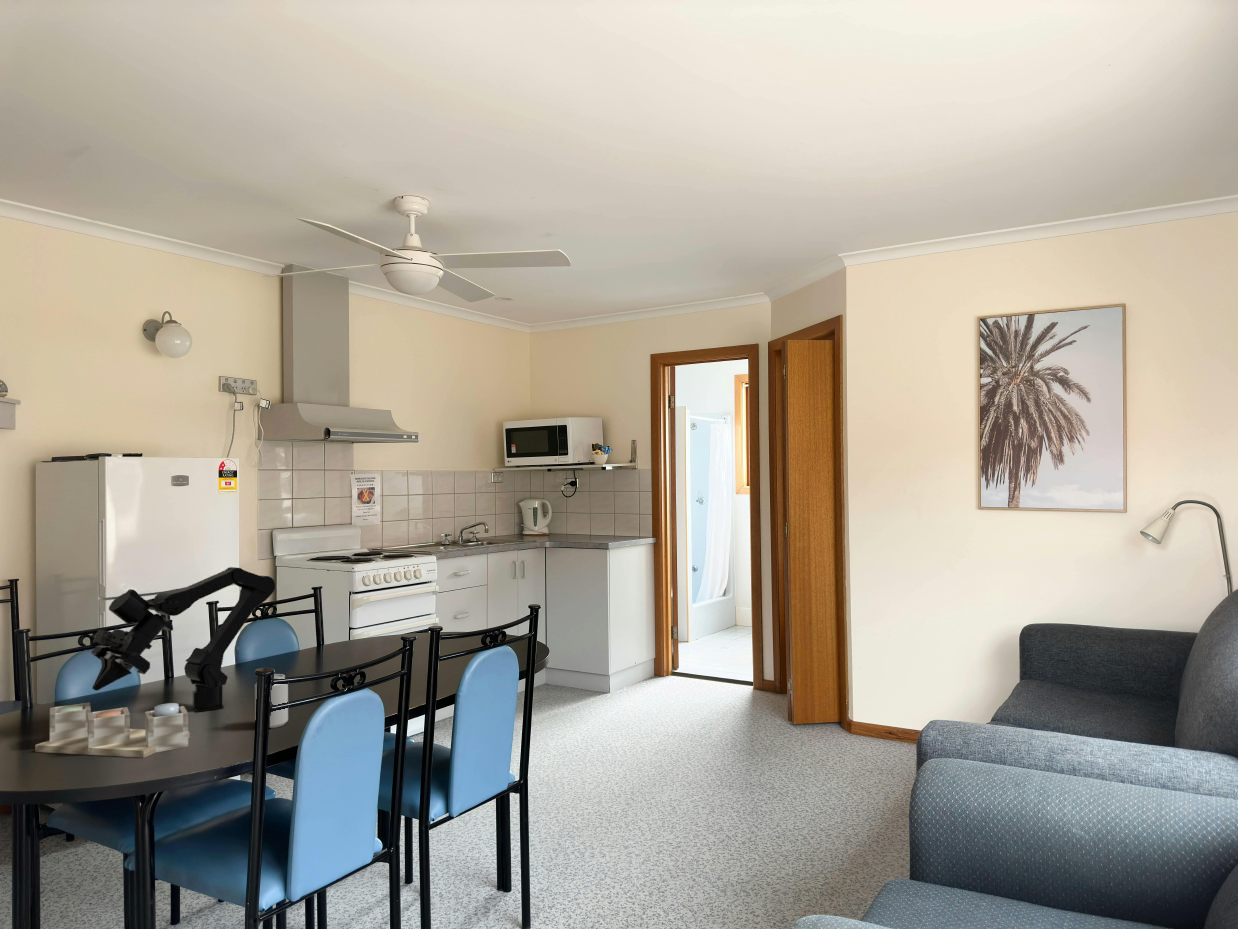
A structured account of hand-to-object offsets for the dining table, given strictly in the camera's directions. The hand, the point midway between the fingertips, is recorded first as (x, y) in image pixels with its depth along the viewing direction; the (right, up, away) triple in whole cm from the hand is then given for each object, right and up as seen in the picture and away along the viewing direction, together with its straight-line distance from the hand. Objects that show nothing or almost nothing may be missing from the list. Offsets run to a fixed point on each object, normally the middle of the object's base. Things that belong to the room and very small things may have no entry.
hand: (94, 689), depth 195 cm
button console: (+10, -10, -8) cm, 16 cm away
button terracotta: (+9, -6, -10) cm, 15 cm away
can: (+40, -10, +5) cm, 42 cm away
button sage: (-3, -6, -4) cm, 8 cm away
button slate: (+22, -4, -9) cm, 25 cm away
